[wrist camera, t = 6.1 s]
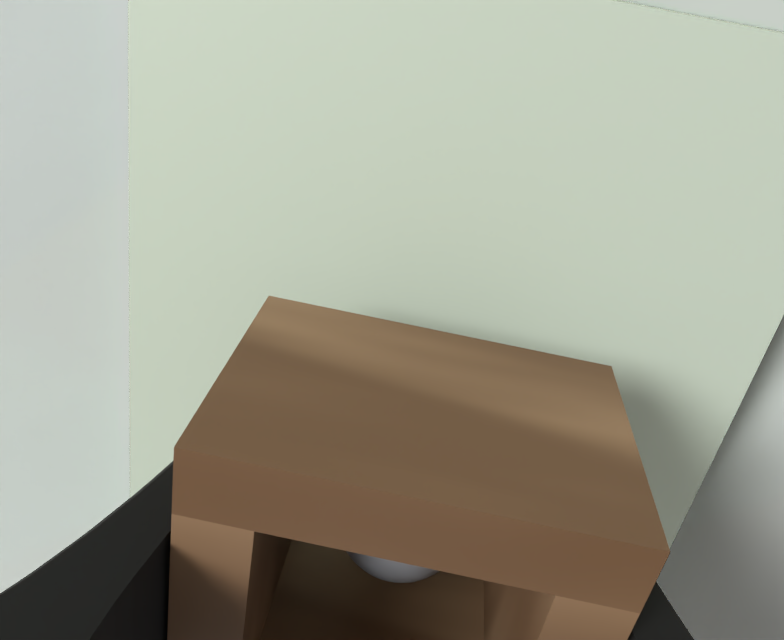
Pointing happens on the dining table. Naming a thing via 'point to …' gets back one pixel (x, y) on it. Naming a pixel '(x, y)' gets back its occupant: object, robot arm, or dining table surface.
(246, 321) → the board
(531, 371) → the collar
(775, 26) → the dining table surface
